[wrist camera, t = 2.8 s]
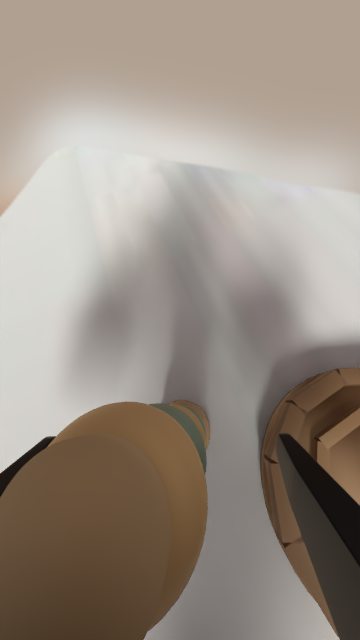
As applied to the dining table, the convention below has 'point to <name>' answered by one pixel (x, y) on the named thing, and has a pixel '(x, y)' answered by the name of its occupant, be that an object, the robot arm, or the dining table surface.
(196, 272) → the dining table surface
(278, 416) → the groove tray
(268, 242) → the dining table surface
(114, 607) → the post
